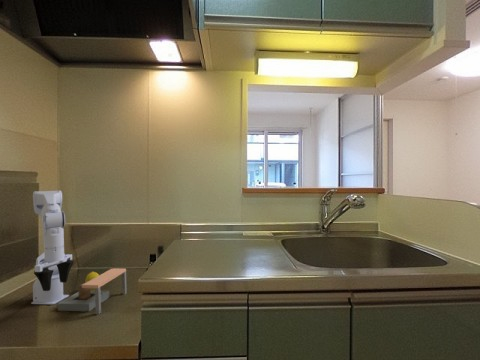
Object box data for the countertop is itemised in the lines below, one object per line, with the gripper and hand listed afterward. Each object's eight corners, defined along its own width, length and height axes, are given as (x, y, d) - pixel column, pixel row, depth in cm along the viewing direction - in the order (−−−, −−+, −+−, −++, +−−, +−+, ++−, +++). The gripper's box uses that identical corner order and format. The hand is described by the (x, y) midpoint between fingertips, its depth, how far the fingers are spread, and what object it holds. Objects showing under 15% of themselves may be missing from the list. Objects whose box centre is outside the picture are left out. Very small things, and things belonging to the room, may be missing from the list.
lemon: (94, 293, 114) (93, 273, 114) (82, 292, 115) (81, 273, 115) (103, 288, 119) (102, 269, 119) (92, 287, 120) (91, 269, 120)
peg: (76, 305, 103) (75, 286, 103) (83, 301, 107) (82, 282, 107) (86, 306, 102) (86, 286, 102) (93, 301, 106) (92, 282, 106)
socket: (57, 310, 99) (57, 303, 99) (81, 296, 111) (80, 290, 111) (89, 311, 98) (89, 304, 98) (109, 297, 110) (109, 290, 110)
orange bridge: (82, 314, 96) (81, 284, 96) (112, 293, 114) (112, 268, 114) (99, 314, 95) (98, 285, 95) (126, 293, 113) (126, 268, 113)
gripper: (48, 252, 89) (49, 294, 89) (79, 242, 104) (80, 278, 104) (28, 252, 90) (29, 294, 90) (62, 242, 105) (62, 278, 105)
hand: (55, 286), depth 97 cm, fingers open, 7 cm apart
